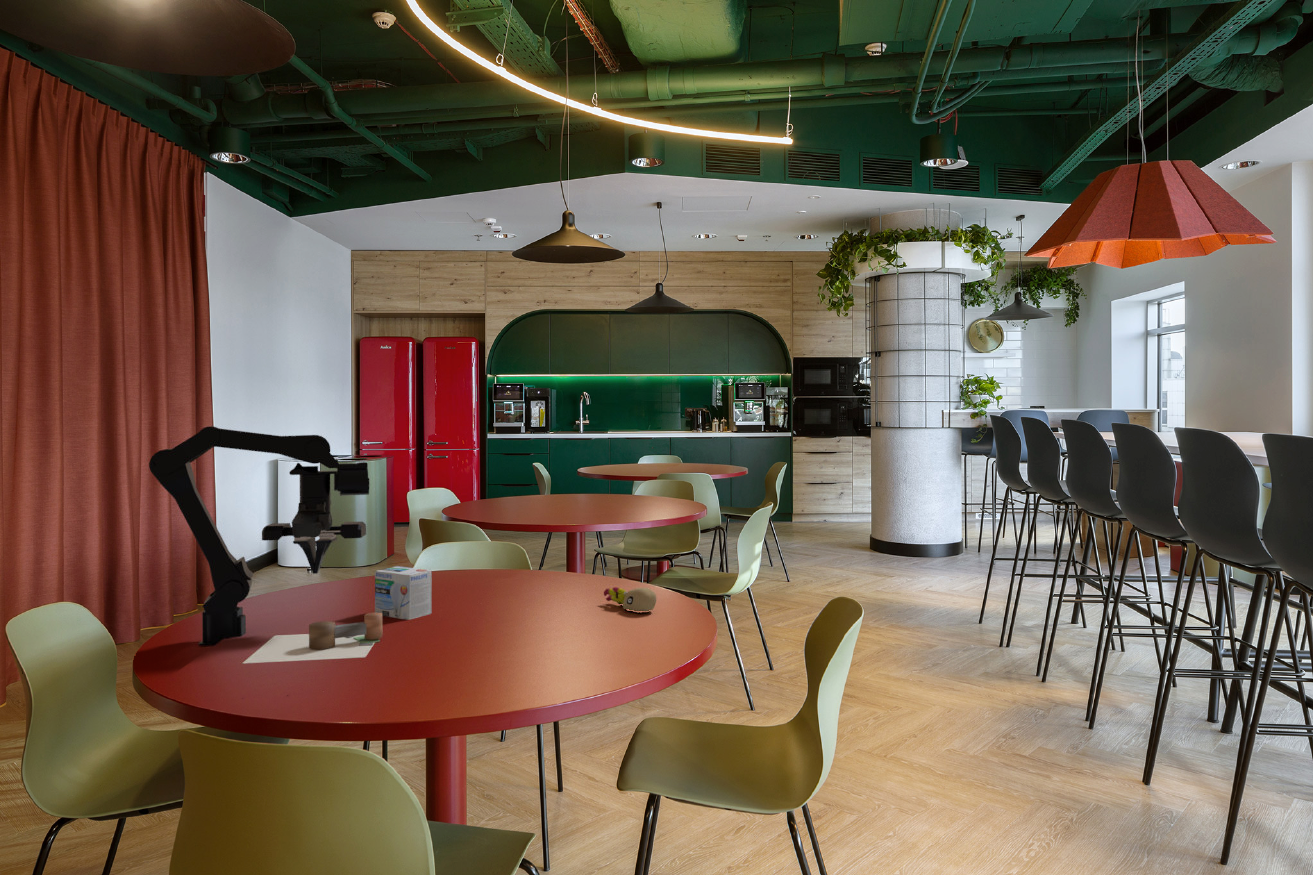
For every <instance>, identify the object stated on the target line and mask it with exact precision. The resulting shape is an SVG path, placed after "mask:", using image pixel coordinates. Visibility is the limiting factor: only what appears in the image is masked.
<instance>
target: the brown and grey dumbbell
mask: <svg viewBox="0 0 1313 875" xmlns="http://www.w3.org/2000/svg"><path fill="white" fill-rule="evenodd" d="M363 616H364V617H363V618H364V619H363V620H364V621H362V622H360V621H359V622H353V623H345V624H337V625H336V622H334V621H330V620H329V621H328V620H326V621H325V620H323V621H317V622H312V623H310V624H309V625H308V634H309V648H310V649H326V648H330V647H333V646H335V638H342V637H350V636H357V635H364V638H365V639H378V638H379V639H381V638H383V616H382V613H375V612H368V613H366V614H364V615H363Z"/></svg>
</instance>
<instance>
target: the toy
mask: <svg viewBox="0 0 1313 875" xmlns="http://www.w3.org/2000/svg"><path fill="white" fill-rule="evenodd" d="M607 595H608V596H607ZM603 596H604V597H606V596H607V597H606V598H605V600H606V601H607V602H610V601H612V602H614V603H615V602H616V604H618V605H620V604H623V606H622V608H623V610H624V609H629V610H634V611H649V610H652V611H653V610H654V608H655V606H656V604H657V593H656V592H655V591H654V590H652V589H651V588H648V587H636V588H632V589H630V590H628V591H626V590H625V589H623V588H620V587H618V586H617V587H616V586H615V587H612V588H605V590H604V591H603Z"/></svg>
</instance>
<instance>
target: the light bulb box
mask: <svg viewBox="0 0 1313 875" xmlns="http://www.w3.org/2000/svg"><path fill="white" fill-rule="evenodd" d="M432 574H433V573H432V570H431V569H425V568H416V567H406V566H392V567H388V568H383V569H378V570H375V571H374V581H375V582H374V613H382V617H388V618H394V619H401V620H407V621H409V620H413V619H417V618H420V617H424V616H429V615H431V614H432V583H433V582H432V581H433V580H432Z"/></svg>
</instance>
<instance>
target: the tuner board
mask: <svg viewBox="0 0 1313 875" xmlns="http://www.w3.org/2000/svg"><path fill="white" fill-rule="evenodd" d="M380 641H381V640H380V638H378V639H365V638H364V635H357V636H350V637H342V638H335V646H333V647H330V648H326V649H310V648H309V633H305V634H303V633H300V634H281V635H279V634H277V635H273V636H272V638H270V639H269V640H268V641H267V642H265V643H264V644H263V645H262V646H260V647H259V648H258V649H257V650H256V651H255V652H254V653H253V654H251V655H250V656H249V657H248V658H247V659H246V660H244V661H243V662H242V664H260V663H261V664H262V663H278V662H279V663H280V662H283V663H284V662H297V661H298V662H299V661H317V660H318V661H321V660H322V661H323V660H339V659H341V660H342V659H361V658H363V659H364V658H366V657H367V655H368V654H369V652H370V651H371V649H372V647H373V646H374V644H376V643H379V642H380Z"/></svg>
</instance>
